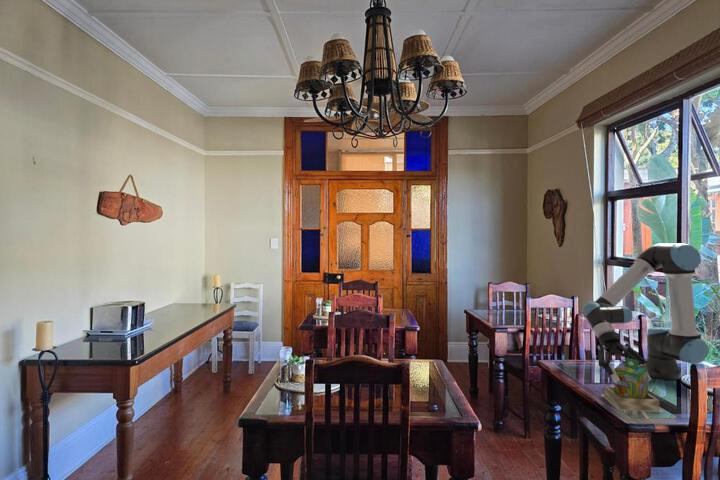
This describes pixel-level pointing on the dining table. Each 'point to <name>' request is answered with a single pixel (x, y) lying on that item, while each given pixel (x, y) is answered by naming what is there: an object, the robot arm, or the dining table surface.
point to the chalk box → (631, 379)
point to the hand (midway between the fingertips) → (633, 381)
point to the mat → (628, 409)
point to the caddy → (631, 401)
